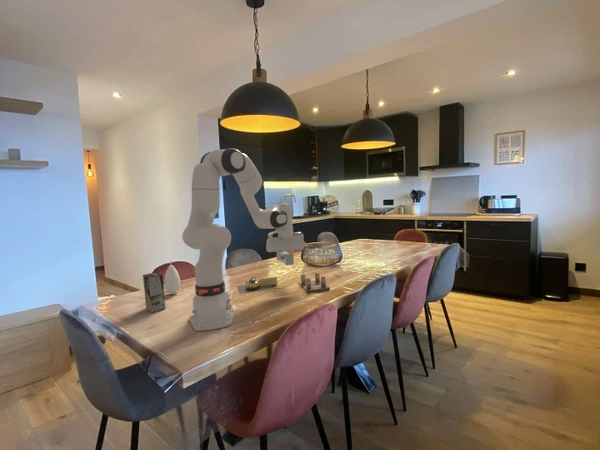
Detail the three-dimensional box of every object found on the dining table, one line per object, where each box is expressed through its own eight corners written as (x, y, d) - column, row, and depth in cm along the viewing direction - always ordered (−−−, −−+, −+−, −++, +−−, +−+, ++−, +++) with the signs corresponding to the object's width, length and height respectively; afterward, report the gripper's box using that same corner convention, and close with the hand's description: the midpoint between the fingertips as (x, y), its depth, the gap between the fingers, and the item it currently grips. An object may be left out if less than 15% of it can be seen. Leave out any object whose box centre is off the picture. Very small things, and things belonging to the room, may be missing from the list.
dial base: (274, 290, 168) (274, 288, 168) (239, 295, 163) (239, 293, 163) (268, 283, 183) (268, 281, 183) (236, 287, 178) (236, 285, 178)
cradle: (329, 290, 164) (329, 277, 163) (307, 293, 161) (306, 280, 160) (319, 282, 179) (318, 271, 179) (298, 285, 176) (297, 273, 175)
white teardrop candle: (166, 292, 176) (163, 260, 174) (181, 291, 178) (178, 258, 176) (164, 297, 168) (161, 262, 166) (180, 294, 170) (177, 261, 169)
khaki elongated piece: (246, 290, 168) (246, 282, 168) (244, 286, 176) (244, 279, 175) (278, 285, 173) (278, 278, 172) (275, 282, 180) (274, 275, 180)
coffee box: (166, 308, 149) (163, 274, 147) (151, 312, 145) (148, 277, 143) (159, 304, 156) (156, 272, 154) (145, 308, 151) (142, 274, 150)
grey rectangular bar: (295, 264, 165) (294, 254, 165) (284, 265, 163) (284, 255, 163) (285, 257, 185) (285, 249, 184) (275, 258, 183) (275, 249, 183)
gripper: (301, 231, 177) (302, 256, 178) (264, 234, 171) (266, 259, 172) (305, 232, 171) (306, 258, 172) (267, 235, 165) (268, 261, 166)
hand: (286, 259), depth 172 cm, fingers closed on grey rectangular bar, 4 cm apart
